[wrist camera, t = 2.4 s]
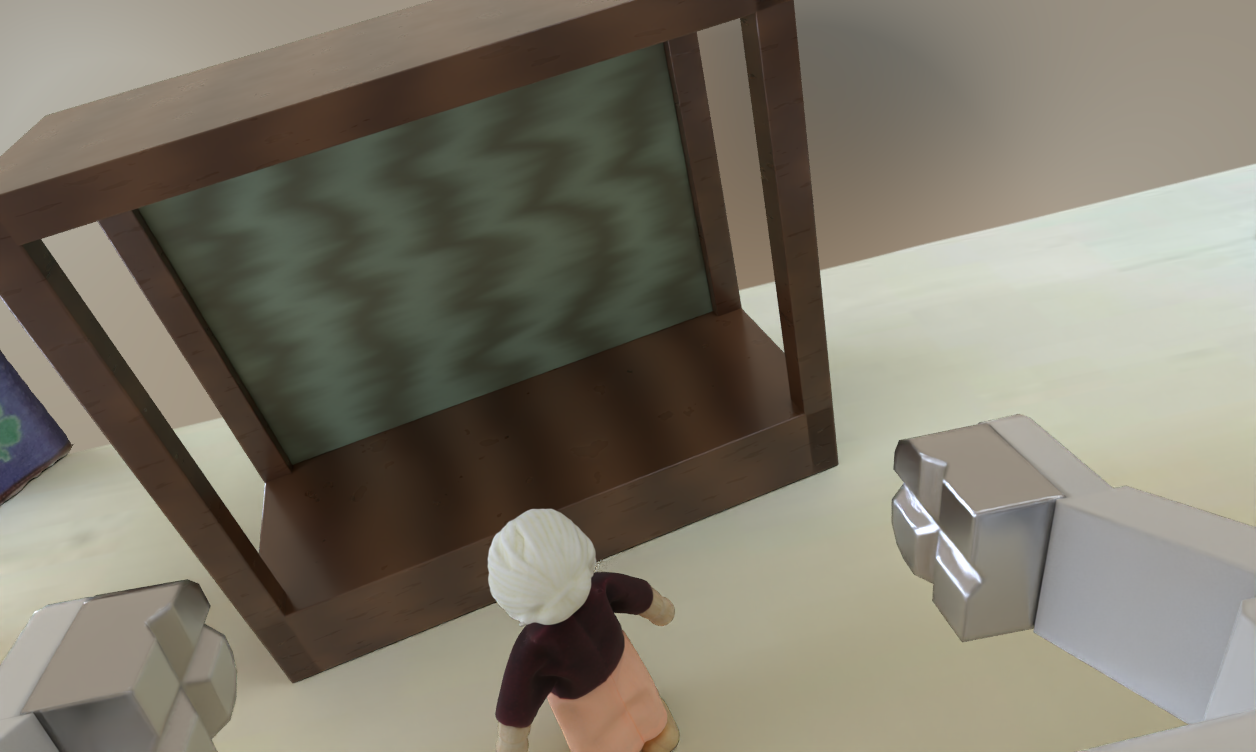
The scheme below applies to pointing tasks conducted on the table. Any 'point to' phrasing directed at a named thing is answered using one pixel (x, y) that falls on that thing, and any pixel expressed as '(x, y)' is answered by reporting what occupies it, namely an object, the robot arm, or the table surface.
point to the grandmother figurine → (574, 642)
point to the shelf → (438, 296)
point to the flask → (24, 434)
